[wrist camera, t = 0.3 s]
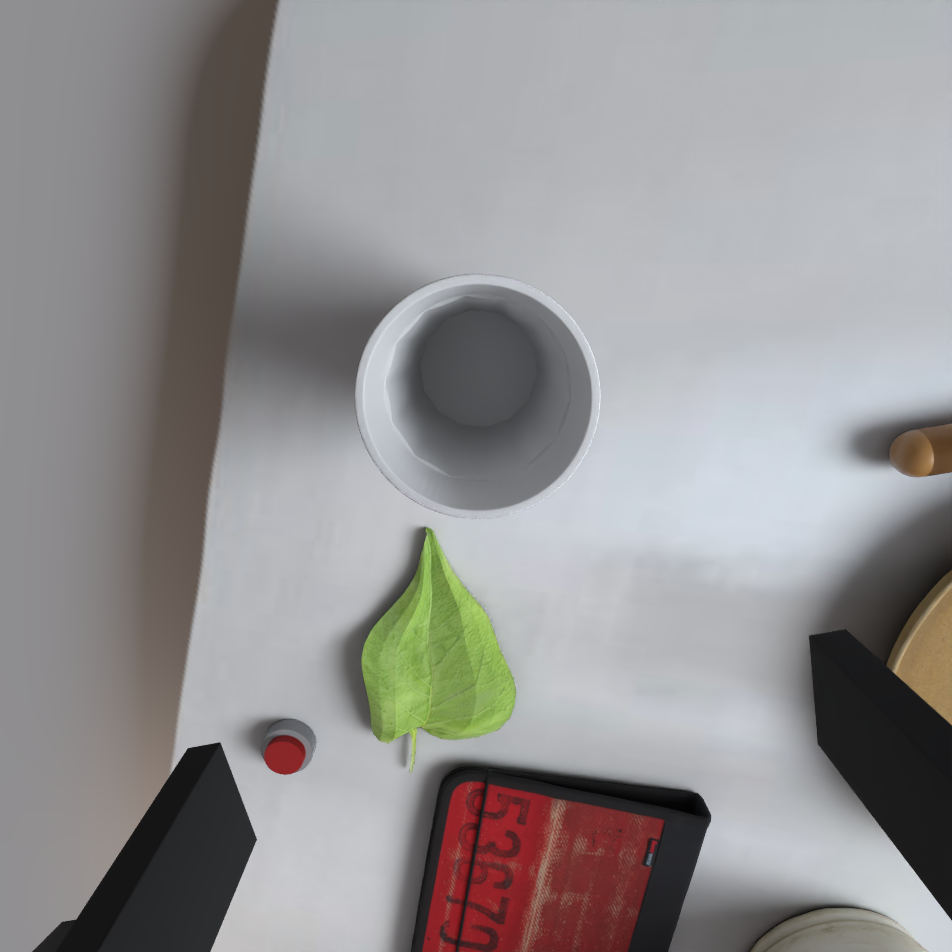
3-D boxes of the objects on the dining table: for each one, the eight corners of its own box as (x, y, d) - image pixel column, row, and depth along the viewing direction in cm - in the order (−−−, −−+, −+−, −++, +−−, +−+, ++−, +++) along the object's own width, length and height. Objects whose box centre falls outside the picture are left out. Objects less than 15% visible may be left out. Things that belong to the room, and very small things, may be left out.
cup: (389, 428, 33) (339, 496, 21) (413, 270, 31) (373, 251, 19) (539, 456, 33) (570, 537, 22) (573, 301, 31) (627, 300, 20)
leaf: (353, 761, 39) (346, 785, 37) (378, 520, 34) (372, 533, 32) (497, 779, 39) (498, 804, 37) (539, 542, 35) (543, 556, 33)
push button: (267, 716, 38) (258, 733, 36) (317, 722, 38) (311, 739, 36) (265, 758, 39) (256, 776, 37) (314, 764, 39) (308, 782, 37)
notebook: (715, 821, 36) (634, 1076, 42) (703, 791, 39) (628, 1037, 44) (440, 775, 37) (396, 1035, 42) (444, 747, 39) (402, 998, 45)
